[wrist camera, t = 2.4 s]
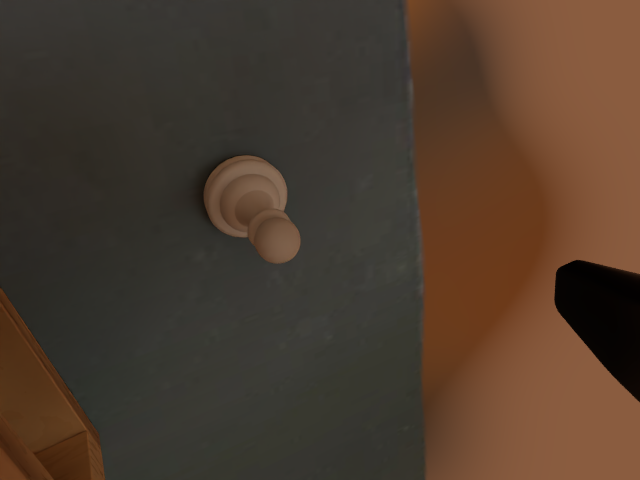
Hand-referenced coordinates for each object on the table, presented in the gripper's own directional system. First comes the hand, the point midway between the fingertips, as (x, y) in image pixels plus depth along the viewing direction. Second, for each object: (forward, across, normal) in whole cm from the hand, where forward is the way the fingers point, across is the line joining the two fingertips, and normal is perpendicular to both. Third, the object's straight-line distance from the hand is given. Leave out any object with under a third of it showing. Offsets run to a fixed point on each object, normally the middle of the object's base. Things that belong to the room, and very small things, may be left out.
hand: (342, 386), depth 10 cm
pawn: (+10, -1, +1) cm, 10 cm away
